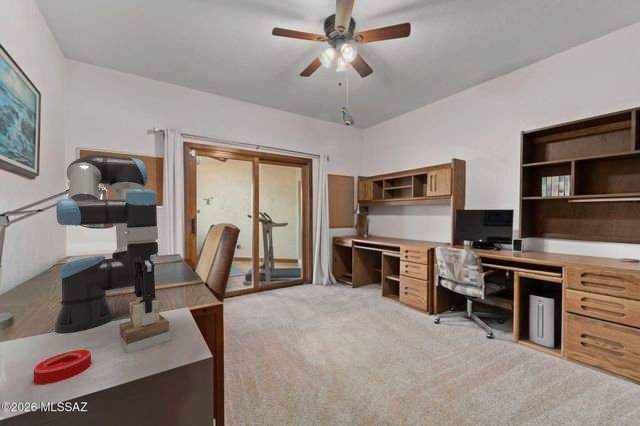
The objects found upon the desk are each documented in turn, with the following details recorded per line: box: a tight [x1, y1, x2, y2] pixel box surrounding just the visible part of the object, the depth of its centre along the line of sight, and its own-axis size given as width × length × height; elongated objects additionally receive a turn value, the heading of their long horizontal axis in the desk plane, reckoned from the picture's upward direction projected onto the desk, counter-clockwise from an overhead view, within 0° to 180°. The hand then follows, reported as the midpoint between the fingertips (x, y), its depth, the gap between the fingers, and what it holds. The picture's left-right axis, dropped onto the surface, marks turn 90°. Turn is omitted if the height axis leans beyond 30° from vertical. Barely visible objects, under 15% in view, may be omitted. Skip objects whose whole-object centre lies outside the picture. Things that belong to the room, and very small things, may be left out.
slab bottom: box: [120, 330, 171, 355], centre depth 75 cm, size 10×10×3 cm
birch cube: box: [129, 298, 160, 329], centre depth 75 cm, size 6×6×6 cm
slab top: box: [119, 313, 170, 345], centre depth 75 cm, size 10×10×3 cm
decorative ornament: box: [33, 349, 92, 386], centre depth 61 cm, size 10×10×3 cm
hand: (145, 321), depth 75 cm, fingers open, 6 cm apart
